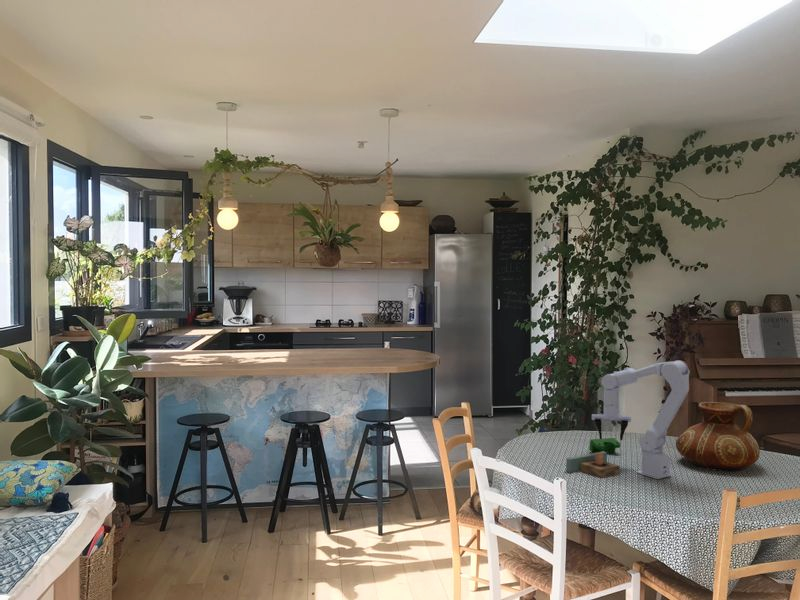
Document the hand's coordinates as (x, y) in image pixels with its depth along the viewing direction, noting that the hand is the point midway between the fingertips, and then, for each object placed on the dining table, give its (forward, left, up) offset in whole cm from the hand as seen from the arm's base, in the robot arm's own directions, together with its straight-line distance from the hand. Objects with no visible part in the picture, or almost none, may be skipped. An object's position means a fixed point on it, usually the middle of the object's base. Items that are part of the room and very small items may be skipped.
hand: (610, 439), depth 256 cm
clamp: (+13, -12, -11) cm, 21 cm away
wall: (+2, +11, -10) cm, 15 cm away
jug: (-20, -38, -11) cm, 44 cm away
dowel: (-4, +11, -10) cm, 16 cm away
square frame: (-4, +11, -10) cm, 16 cm away
